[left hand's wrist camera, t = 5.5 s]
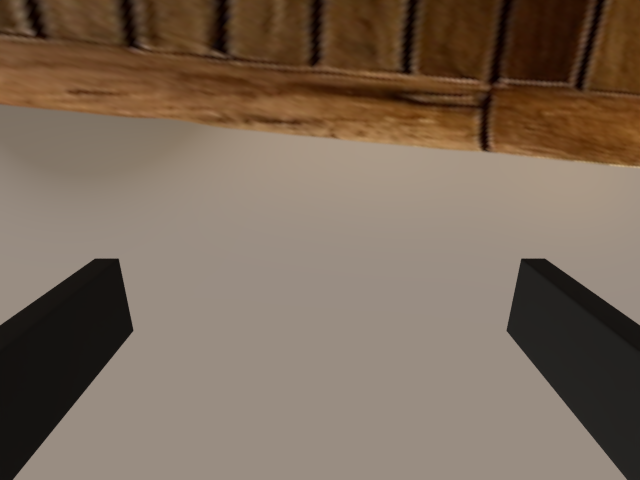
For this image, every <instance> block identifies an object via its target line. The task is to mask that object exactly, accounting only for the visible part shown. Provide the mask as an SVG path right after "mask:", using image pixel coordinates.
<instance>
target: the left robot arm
mask: <svg viewBox="0 0 640 480" xmlns="http://www.w3.org/2000/svg"><path fill="white" fill-rule="evenodd" d="M132 332H133V326H132V321H131V317H130V312H129V307H128V302H127V297H126V292H125V287H124V282H123V278H122V273H121V268H120V263H119V259H94V260H92V261H91V262H90V263H88V264H87V265H85V266H84V267H83V268H81V269H80V270H78V271H77V272H75V273H74V274H73V275H71V276H70V277H68V278H67V279H66V280H64V281H63V282H61V283H60V284H58V285H57V286H56V287H54V288H53V289H51V290H50V291H48V292H47V293H46V294H44V295H43V296H41V297H40V298H38V299H37V300H36V301H34V302H33V303H31V304H30V305H29V306H27V307H26V308H24V309H23V310H21V311H20V312H19V313H17V314H16V315H14V316H13V317H11V318H10V319H9V320H7V321H6V322H4V323H3V324H2V325H0V480H13V479H14V477H15V476H16V475H17V474H18V473H19V471H20V470H21V469H22V468H23V466H24V465H25V464H26V463H27V461H28V460H29V459H30V458H31V456H32V455H33V454H34V453H35V452H36V450H37V449H38V448H39V447H40V445H41V444H42V443H43V442H44V440H45V439H46V438H47V437H48V436H49V434H50V433H51V432H52V431H53V429H54V428H55V427H56V426H57V424H58V423H59V422H60V421H61V419H62V418H63V417H64V416H65V415H66V413H67V412H68V411H69V410H70V408H71V407H72V406H73V405H74V403H75V402H76V401H77V400H78V398H79V397H80V396H81V395H82V394H83V392H84V391H85V390H86V389H87V387H88V386H89V385H90V384H91V382H92V381H93V380H94V379H95V377H96V376H97V375H98V374H99V373H100V371H101V370H102V369H103V368H104V366H105V365H106V364H107V363H108V361H109V360H110V359H111V358H112V357H113V355H114V354H115V353H116V352H117V350H118V349H119V348H120V347H121V345H122V344H123V343H124V342H125V340H126V339H127V338H128V337H129V335H130V334H131V333H132ZM507 332H508V333H509V334H510V336H511V337H512V338H513V339H514V340H515V342H516V343H517V344H518V345H519V347H520V348H521V349H522V350H523V352H524V353H525V354H526V355H527V357H528V358H529V359H530V360H531V361H532V363H533V364H534V365H535V366H536V368H537V369H538V370H539V371H540V373H541V374H542V375H543V376H544V378H545V379H546V380H547V381H548V382H549V384H550V385H551V386H552V387H553V389H554V390H555V391H556V392H557V394H558V395H559V396H560V397H561V398H562V400H563V401H564V402H565V403H566V405H567V406H568V407H569V408H570V410H571V411H572V412H573V413H574V415H575V416H576V417H577V418H578V419H579V421H580V422H581V423H582V424H583V426H584V427H585V428H586V429H587V431H588V432H589V433H590V434H591V436H592V437H593V438H594V439H595V440H596V442H597V443H598V444H599V445H600V447H601V448H602V449H603V450H604V452H605V453H606V454H607V455H608V456H609V458H610V459H611V460H612V461H613V463H614V464H615V465H616V466H617V468H618V469H619V470H620V471H621V472H622V474H623V475H624V476H625V477H626V479H627V480H640V325H638V324H637V323H636V322H634V321H633V320H631V319H630V318H628V317H627V316H626V315H624V314H623V313H621V312H620V311H619V310H617V309H616V308H614V307H613V306H611V305H610V304H609V303H607V302H606V301H604V300H603V299H601V298H600V297H599V296H597V295H596V294H594V293H593V292H591V291H590V290H589V289H587V288H586V287H584V286H583V285H582V284H580V283H579V282H577V281H576V280H575V279H573V278H572V277H570V276H569V275H567V274H566V273H565V272H563V271H562V270H560V269H559V268H557V267H556V266H555V265H553V264H552V263H550V262H549V261H548V260H546V259H521V263H520V268H519V273H518V278H517V282H516V288H515V292H514V297H513V302H512V307H511V312H510V317H509V322H508V326H507Z"/></svg>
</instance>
